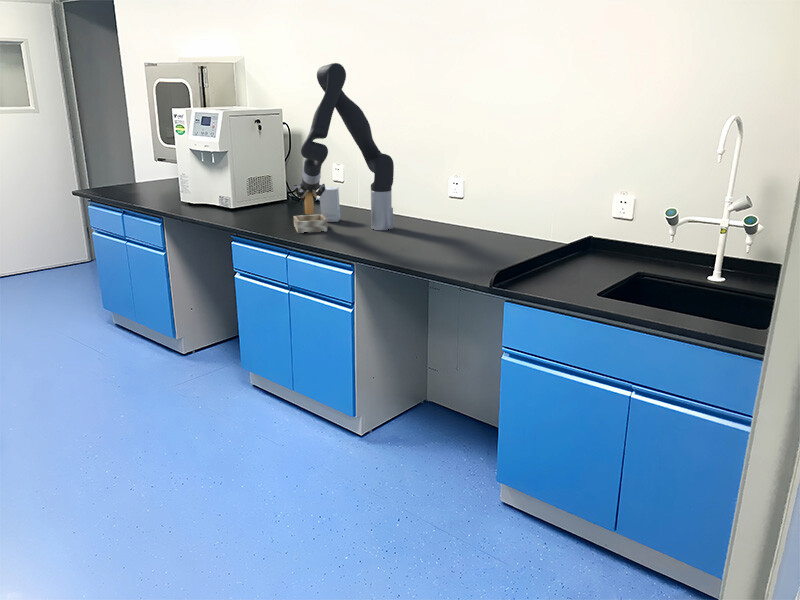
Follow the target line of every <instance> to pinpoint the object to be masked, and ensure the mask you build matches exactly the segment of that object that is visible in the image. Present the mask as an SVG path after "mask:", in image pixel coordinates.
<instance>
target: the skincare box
mask: <svg viewBox="0 0 800 600" xmlns="http://www.w3.org/2000/svg"><path fill="white" fill-rule="evenodd" d="M339 193H340V191H339V187H336V186H335V187H333V186H332V187H331V186H330V187H329V186H327V187H326V186H325V191H324V192H323V194H322V195H321V196H319V201H320V202H319V204H320V215H321V214H322V215H323V216H324V217H325V219H326V220H327V223H328V222H330V223H332V222H335V223H338V222H339V221H340V220H341V208H340V194H339Z"/></svg>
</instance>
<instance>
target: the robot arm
mask: <svg viewBox="0 0 800 600" xmlns="http://www.w3.org/2000/svg"><path fill="white" fill-rule="evenodd" d="M316 79H317V82H318V84H319V87H320V88H321V89H322V91H323V92H324V94H323V97H322V98H321V101H320V103H319V104H318V106H317V108H316V110H315V112H314V114H313V117H312V121H311V126H310V128H309V129H310V130H309V133H308V135H307V137H306V139H305V140H304V142H303V143H302V146H301V148H300V154H301V156H302V157H303V159H305V160H304V162H303V164H304V165H303V170H302V176H301V183H300V184H299V185H297V184H294V185H293V188H294V192H295V194H296V196H297V197H298V198H300V201H301V202H302V203H304V200H305V195H307V193H313V201H314V203H315V202H316V201H317V197H320V196H321V195H322V194H323V192H324V191H325V187H326V184H325V183H322V184H320V182H321V177H322V175H321V173H322V171H321V169H322V165H323V163H324V162H325V160H327V157H328V154H329V149H328V147H327V145H325V144H323V143H319V142H317V141H315V140H318V139H320V140H323V139H326V138H327V137H328V134H329V130H330V125H331V121H332V118H333V113H334V111H335V110H336V111H337V113H338V115H339V117H340V118H341V120H342V122H343V124H344V125H345V127H346V129H347V131H348V133H349V134H350V135H351V137H352V139H353V140H354V142H355V143H356V146H357V147H358V148H359V150H360V152H361V154H362V157H363V158H364V161H365V163H366V166H367V168H368V169H369V171H370V172H372V173H373V174H374V175H373V176H374V177H373V182H372V183H371V184H370V220H371V221H370V222H371V224H370V225H371V227H370V228H371V230H373V229H374V231H389V230H394V207H392V206H393V205H392V204H393V203H392V201H393V200H392V199H393V198H392V197H393V195H392V193H393V192H392V191H393V190H392V187H393V184H394V174H395V173H394V172H395V171H394V169H395V166H394V165H395V164H394V159H393V158H392V157H391V156H390V155H389V154H387V153H382V152H381V150H380V149H379V148H378V146H377V144H376V143H375V141H374V138H373V134H372V128H371V125H370V122H369V121H368V118H367V117H366V115H365V113H364V111H363V110H362V108H361V107H360V106H359V105H357V103H355V102H354V101H353V100H352V99H351V98H350V97H348V95H346V94H345V92H344V90H343V88H344V86H345V85H344V84H345V82H346V79H347V72H346V69H345V67H344V66H343V64H341V63H340V62H339V63H337V62H333V63H330V64H327V65H326V64H325V65H323V66H319V68H318V69H317V72H316ZM300 190H301V191H300ZM388 229H389V230H388Z"/></svg>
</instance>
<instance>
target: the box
mask: <svg viewBox="0 0 800 600" xmlns="http://www.w3.org/2000/svg"><path fill="white" fill-rule="evenodd" d="M293 227H295V228H294V229H295V231H296V233H298V234H304V232H308V233H320V232H321V231H324V232H328V222H327V220H326V219H325V217H324V216H323V215H322V214H321V213H320V214H305V215H293ZM321 233H322V232H321Z"/></svg>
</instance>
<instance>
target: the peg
mask: <svg viewBox="0 0 800 600" xmlns="http://www.w3.org/2000/svg"><path fill="white" fill-rule="evenodd" d="M303 203H304V214H305V215H315V208H314V207H315V206H314V205H315V204H314V203H315V202H314V201H313V193H307V195H305V200H304V202H303Z"/></svg>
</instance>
